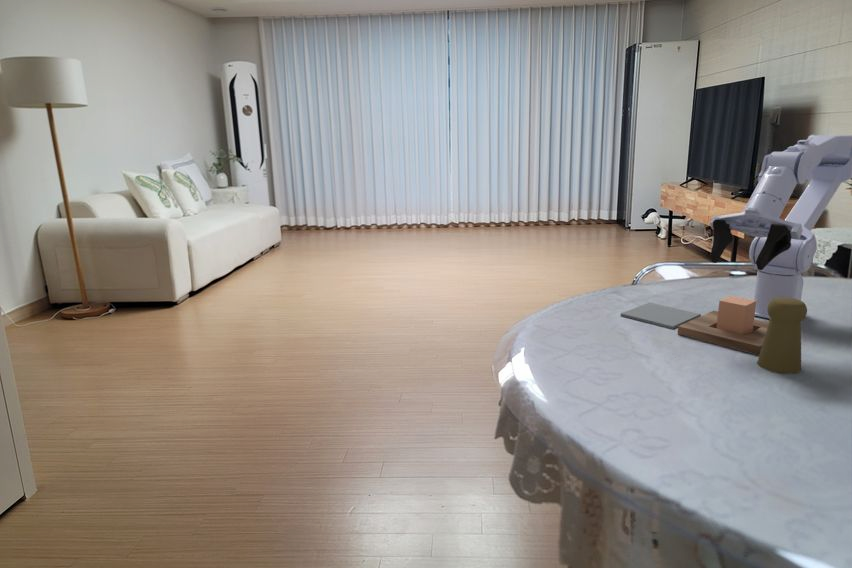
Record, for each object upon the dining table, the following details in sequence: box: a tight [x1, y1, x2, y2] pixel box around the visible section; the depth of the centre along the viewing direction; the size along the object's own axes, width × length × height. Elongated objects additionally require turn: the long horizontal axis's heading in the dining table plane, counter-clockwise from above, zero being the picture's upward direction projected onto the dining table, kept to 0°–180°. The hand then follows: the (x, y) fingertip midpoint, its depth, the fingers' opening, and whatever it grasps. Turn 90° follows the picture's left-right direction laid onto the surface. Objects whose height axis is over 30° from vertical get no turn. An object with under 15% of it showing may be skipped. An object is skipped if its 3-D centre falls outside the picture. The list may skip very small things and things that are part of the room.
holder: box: [677, 310, 769, 356], centre depth 107 cm, size 14×14×2 cm
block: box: [716, 295, 756, 335], centre depth 107 cm, size 4×4×6 cm
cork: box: [756, 297, 808, 375], centre depth 92 cm, size 6×6×11 cm
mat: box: [620, 302, 702, 330], centre depth 118 cm, size 11×11×1 cm
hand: (735, 262), depth 102 cm, fingers open, 7 cm apart
